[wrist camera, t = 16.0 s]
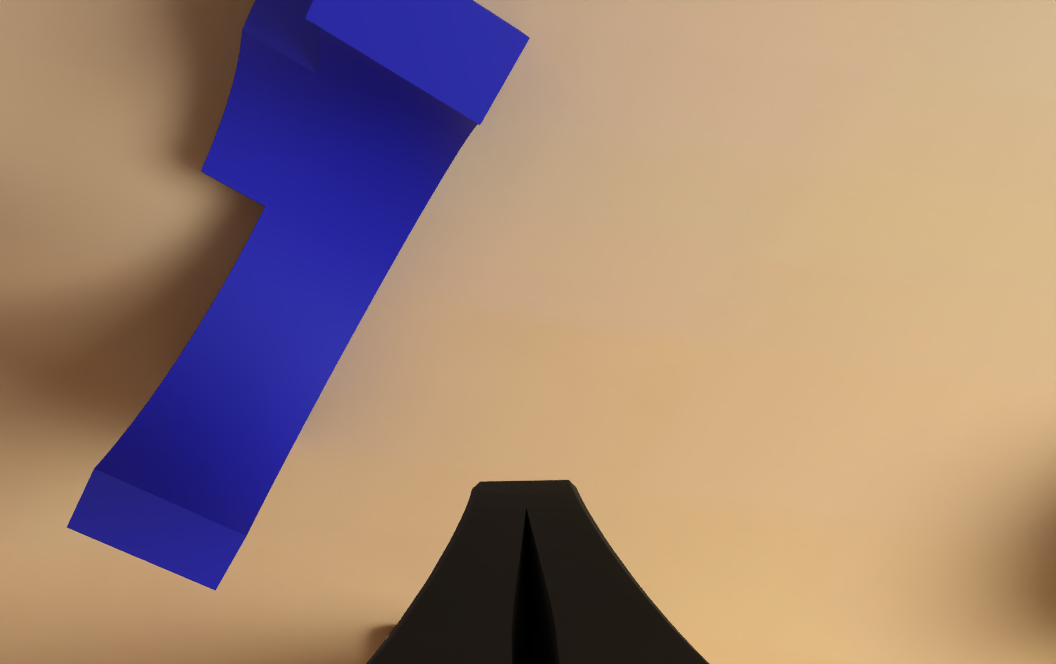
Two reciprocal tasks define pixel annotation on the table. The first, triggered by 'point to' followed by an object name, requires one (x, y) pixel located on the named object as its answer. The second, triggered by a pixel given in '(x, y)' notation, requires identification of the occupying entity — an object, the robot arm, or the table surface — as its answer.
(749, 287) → the table surface
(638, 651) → the robot arm
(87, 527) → the blue pipe saddle
